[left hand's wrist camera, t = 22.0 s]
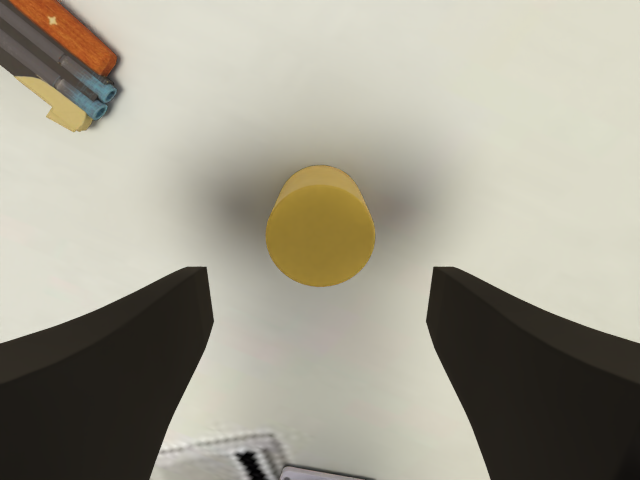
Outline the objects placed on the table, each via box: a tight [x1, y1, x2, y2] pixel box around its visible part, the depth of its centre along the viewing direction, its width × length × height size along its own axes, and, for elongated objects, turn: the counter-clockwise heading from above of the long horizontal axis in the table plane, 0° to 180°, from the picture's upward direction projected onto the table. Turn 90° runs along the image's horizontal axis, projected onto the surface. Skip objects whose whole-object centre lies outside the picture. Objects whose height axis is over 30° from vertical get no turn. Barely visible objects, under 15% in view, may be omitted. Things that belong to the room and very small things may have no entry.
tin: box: [266, 165, 375, 287], centre depth 17 cm, size 5×5×5 cm
